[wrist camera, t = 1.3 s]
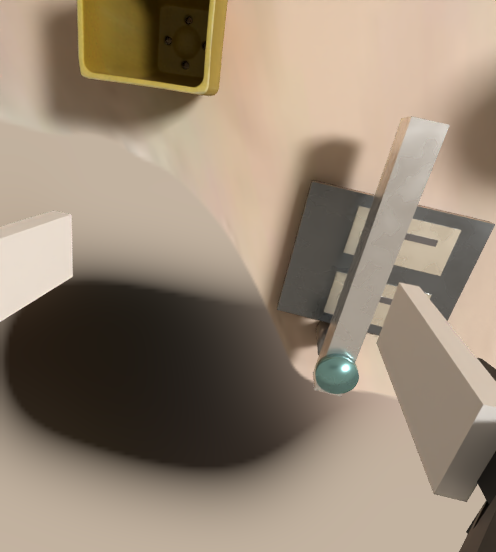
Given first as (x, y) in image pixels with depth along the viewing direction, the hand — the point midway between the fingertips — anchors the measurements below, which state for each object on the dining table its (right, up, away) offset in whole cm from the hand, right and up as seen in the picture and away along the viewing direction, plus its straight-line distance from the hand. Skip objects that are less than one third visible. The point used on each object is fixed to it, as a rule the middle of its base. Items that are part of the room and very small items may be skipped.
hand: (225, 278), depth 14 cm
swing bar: (+11, +1, +16) cm, 19 cm away
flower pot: (-4, +20, +16) cm, 25 cm away
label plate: (+13, +1, +20) cm, 24 cm away
